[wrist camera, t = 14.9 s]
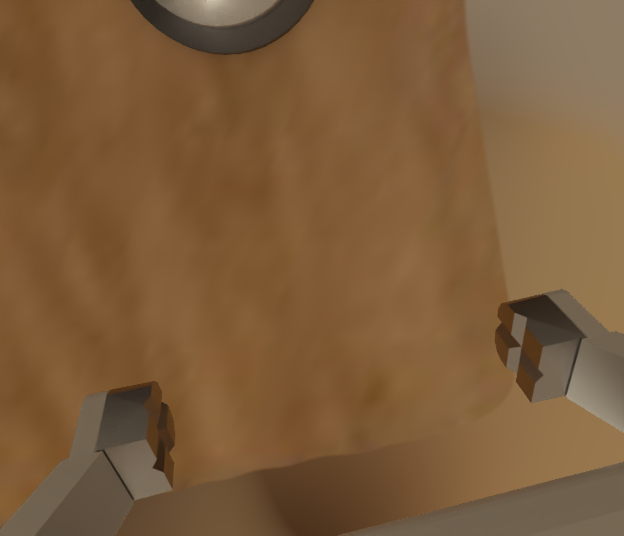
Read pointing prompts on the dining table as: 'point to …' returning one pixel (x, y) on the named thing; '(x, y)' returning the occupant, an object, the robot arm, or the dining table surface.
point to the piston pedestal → (224, 22)
